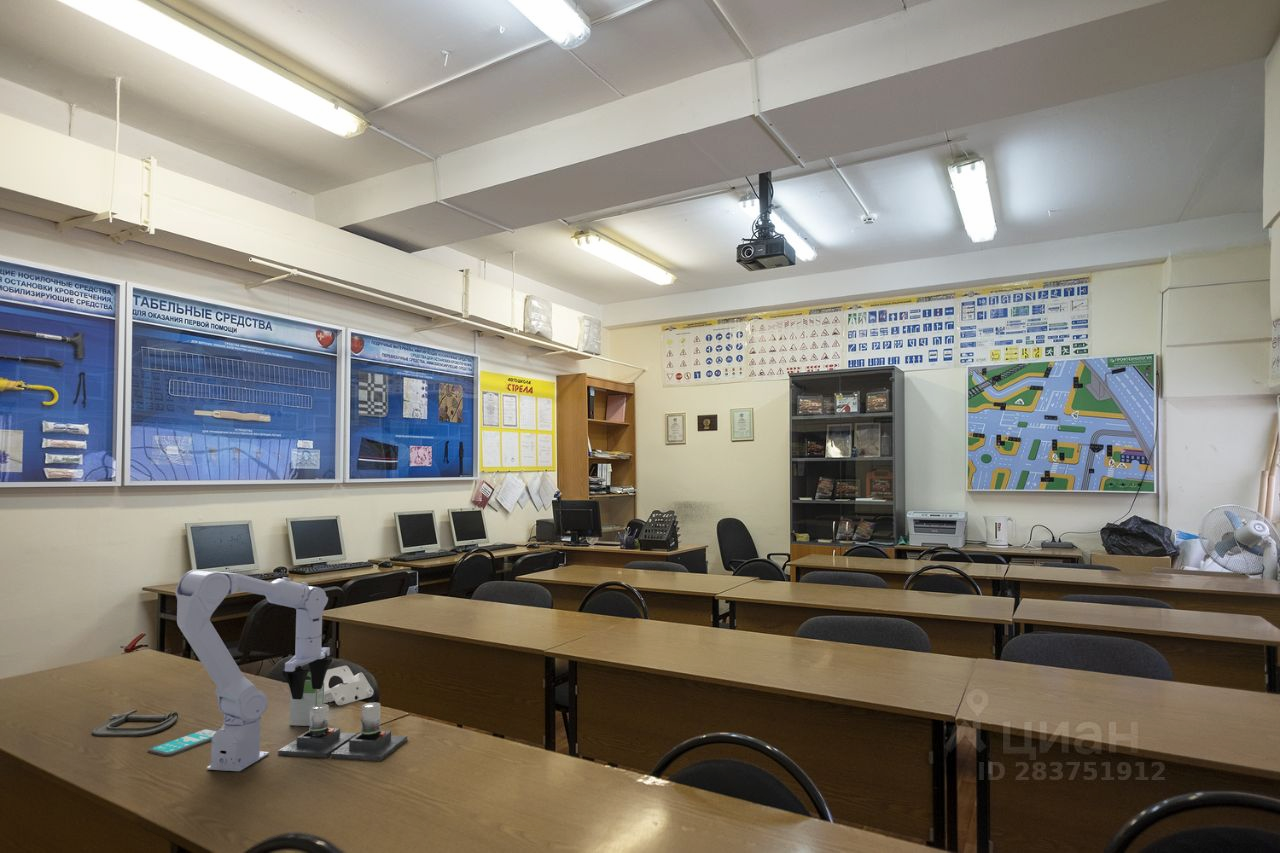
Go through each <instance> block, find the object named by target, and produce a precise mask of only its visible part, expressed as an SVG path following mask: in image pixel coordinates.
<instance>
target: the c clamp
mask: <svg viewBox="0 0 1280 853" xmlns="http://www.w3.org/2000/svg"><path fill="white" fill-rule="evenodd" d="M136 712H138V709H133V710H131V711H130V710H129V711H128V712H125V713H124V712H123V713H120V714H111V715H110V717H109V718H108V720H109V721H106V722H105V723H102V724H101V725H98V726H97V727H95V728H94V729H93V730H92V732H91V734H92V735H93V736H95V737H144V736H149V735H150V736H151V735H152V734H156V733H158V732H159V733H160V732H162V731H164V730H166V729H167V728H169V727H171V726H172V725H174V724H175V722H176V721H177V720H178V718H179V714H178V712H177V711H172V712H169V713H168V714H165V715H163V714H156V715H155V714H142V715H141V714H134V713H136ZM135 721H137V722H140V721H141V722H160V723H157V724H153V725H151V726H141V727H140V726H131V727H130V726H129V727H127V726H126V727H125V726H123V727H121V726H120V725H122V724H124V723H125V722H126V723H127V722H135ZM118 726H119V727H118Z"/></svg>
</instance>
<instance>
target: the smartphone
mask: <svg viewBox="0 0 1280 853" xmlns="http://www.w3.org/2000/svg"><path fill="white" fill-rule="evenodd" d="M220 729H221V728H219V729H218V728H214V727H206V728H203V729H200V730H197V731H194V732H191V733H189V734H186V735H183V736H180V737H176V738H174V739H171V740H167V741H166V742H162V743H159V744H157V745H153V746H151V747H149V748H147V753H150V754H154V755H158V756H162V757H171V756H176V755H178V754H181V753H183V752H188V751H189V750H192V749H194V748H197V747H200V746H202V745H205V744H208V743H210V742H212V738H213V736H214V734H215V733H216V732H217V731H218V730H220Z"/></svg>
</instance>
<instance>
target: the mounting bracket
mask: <svg viewBox="0 0 1280 853" xmlns="http://www.w3.org/2000/svg"><path fill="white" fill-rule="evenodd" d="M335 676H336V677H339V678H340V679H341V680H342V683H338V684H336V685H334V686H333V687H331V688H330V686H329V683H330V680H331V678H333V677H335ZM323 683H324V701H323V704H329V703H331V702H332V703H333V702H335V704H336V705H338V706H344V705H347V704H351V703H354V702H358V701H361V700H364V699H365V700H366V699H369V698H371V697H372V696H373V695H374V693H375V692H374V689H373V687H372V686H371V685H370V683H369V681H368V679H367V678H366V676H365V674H364V673H363V672H361V671H360V672H359V673H357V674H355V675H354V673H353V672H352V670H351V669H350V667H349V666H348V665H342V666H338V667H333V668H328V669H327V672H326V675H325V678H324V682H323ZM356 697H357V698H356ZM328 702H329V703H328Z"/></svg>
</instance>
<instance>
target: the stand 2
mask: <svg viewBox="0 0 1280 853" xmlns="http://www.w3.org/2000/svg"><path fill="white" fill-rule="evenodd" d="M407 741H408V735H398V734H397V735H393V734H392V731H391V730H381V729H380V732H378V733H376V734H373V735H363V734H361V732H359V733H357V735H356V736H355V737H353V738H352V739H350V740H349V742H347V743H346V744H344V745H343V746H341V747H340V748H338V749H337V750H335V751H334V752H333V753H331V755H330V759H337V758H338V759H340V760H354V761H355V760H356V761H358V760H359V761H369V762H370V761H372V762H382V761H383V760H384V759H385V758H387V757H388V756H390V755H391V754H392V753H393V752H395V751H396V750H397V749H398V748H399V747H401V746H402V745H404V743H406V742H407ZM338 759H337V760H338Z"/></svg>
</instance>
